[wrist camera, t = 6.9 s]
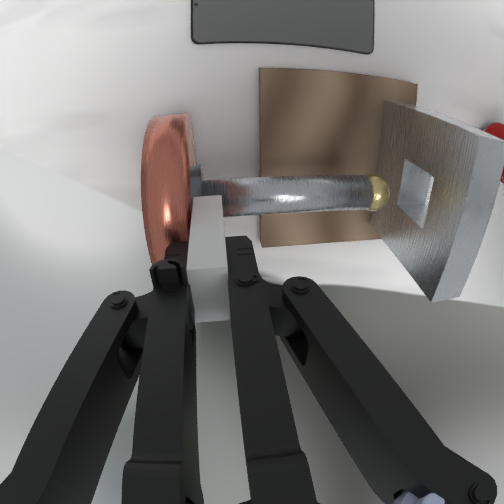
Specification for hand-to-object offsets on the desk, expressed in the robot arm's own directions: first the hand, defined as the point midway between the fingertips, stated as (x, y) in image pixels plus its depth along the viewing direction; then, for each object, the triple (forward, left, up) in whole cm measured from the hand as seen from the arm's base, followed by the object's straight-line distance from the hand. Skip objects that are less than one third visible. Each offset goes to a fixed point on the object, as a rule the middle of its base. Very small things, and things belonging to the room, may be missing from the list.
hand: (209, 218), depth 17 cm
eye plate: (-16, 0, -10) cm, 19 cm away
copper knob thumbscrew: (-4, 0, -8) cm, 9 cm away
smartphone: (-7, -14, -11) cm, 18 cm away
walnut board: (-11, 0, -10) cm, 15 cm away
